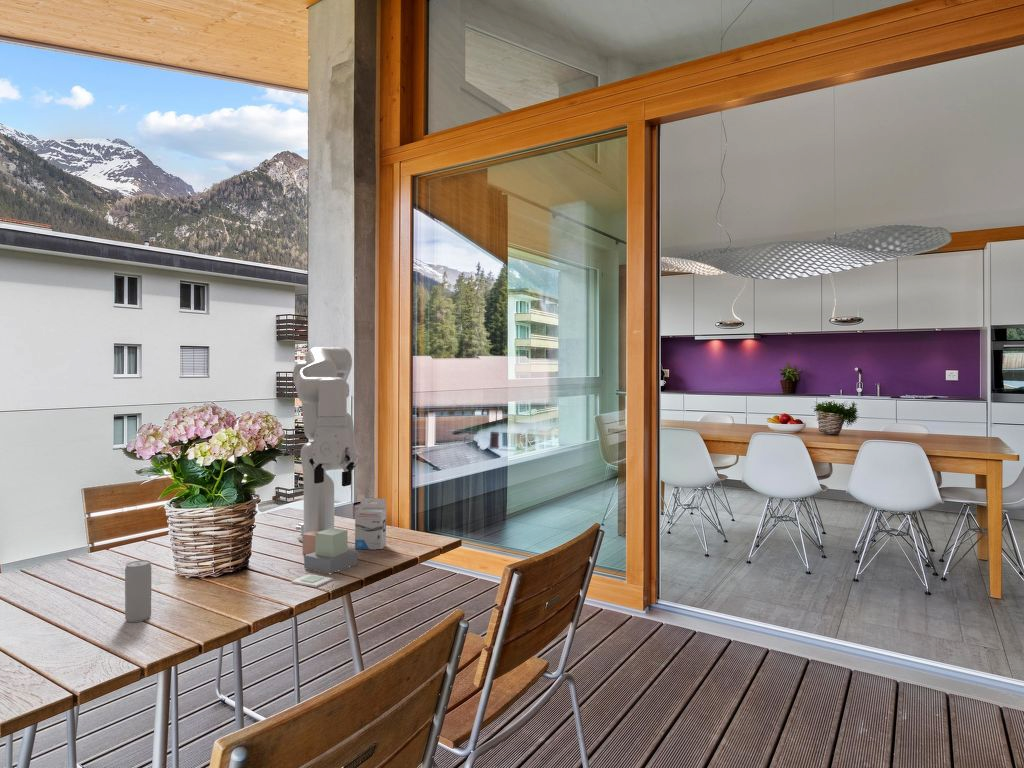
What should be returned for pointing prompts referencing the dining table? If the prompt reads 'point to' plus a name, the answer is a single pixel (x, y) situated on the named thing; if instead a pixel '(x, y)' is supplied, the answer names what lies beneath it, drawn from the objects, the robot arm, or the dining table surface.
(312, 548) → the brick cube
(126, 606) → the beverage can
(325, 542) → the sage cube
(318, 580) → the card
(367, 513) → the ink box
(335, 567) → the slate base block
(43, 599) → the dining table surface
